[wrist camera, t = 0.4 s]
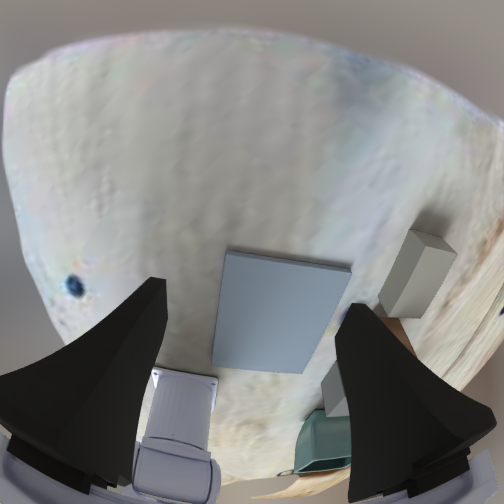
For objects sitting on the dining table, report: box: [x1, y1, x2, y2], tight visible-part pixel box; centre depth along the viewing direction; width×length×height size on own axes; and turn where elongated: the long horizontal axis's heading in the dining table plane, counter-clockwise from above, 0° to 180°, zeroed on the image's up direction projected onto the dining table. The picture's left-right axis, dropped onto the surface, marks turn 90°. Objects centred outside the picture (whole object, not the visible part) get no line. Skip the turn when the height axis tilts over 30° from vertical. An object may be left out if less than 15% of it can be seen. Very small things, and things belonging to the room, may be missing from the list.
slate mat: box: [211, 250, 352, 374], centre depth 24 cm, size 14×10×1 cm
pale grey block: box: [378, 229, 457, 319], centre depth 20 cm, size 7×4×3 cm, turn 170°
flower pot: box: [294, 410, 351, 473], centre depth 32 cm, size 9×9×9 cm
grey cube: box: [321, 360, 349, 417], centre depth 27 cm, size 5×5×5 cm
